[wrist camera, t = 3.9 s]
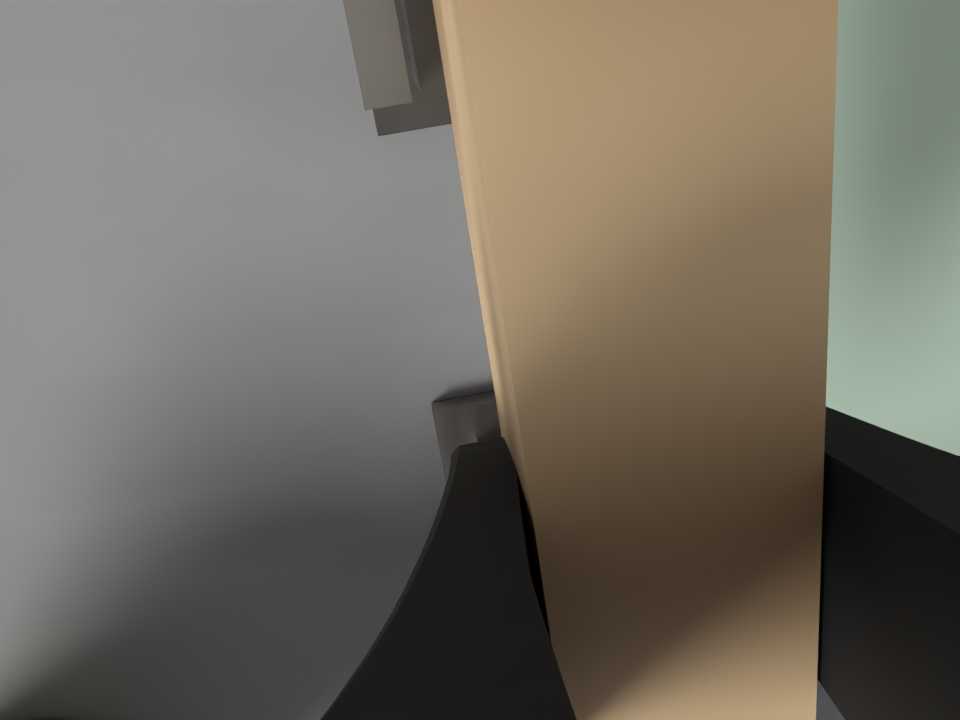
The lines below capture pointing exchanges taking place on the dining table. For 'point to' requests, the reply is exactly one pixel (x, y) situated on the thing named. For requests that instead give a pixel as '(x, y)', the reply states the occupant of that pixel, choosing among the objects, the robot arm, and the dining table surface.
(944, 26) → the mat
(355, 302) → the dining table surface
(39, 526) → the dining table surface
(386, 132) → the standards
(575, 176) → the rail
